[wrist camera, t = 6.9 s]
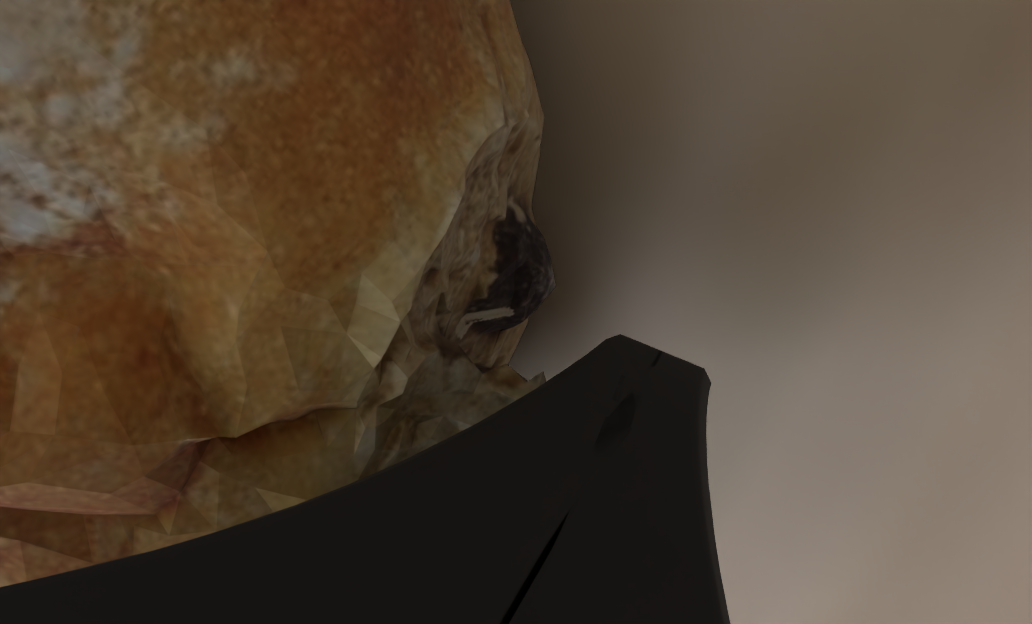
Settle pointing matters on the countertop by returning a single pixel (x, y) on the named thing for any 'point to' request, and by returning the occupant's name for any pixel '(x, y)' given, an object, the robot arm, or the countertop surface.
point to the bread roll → (250, 256)
